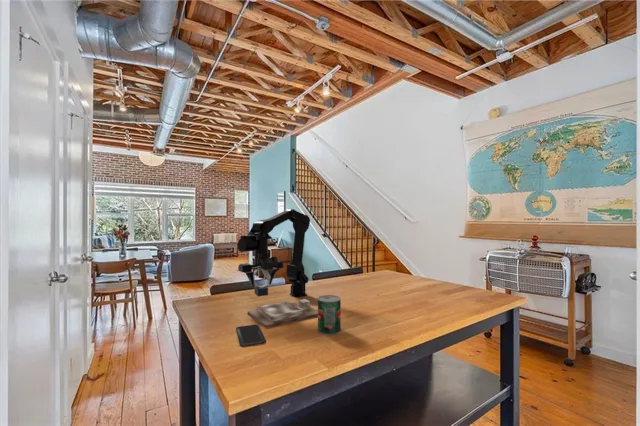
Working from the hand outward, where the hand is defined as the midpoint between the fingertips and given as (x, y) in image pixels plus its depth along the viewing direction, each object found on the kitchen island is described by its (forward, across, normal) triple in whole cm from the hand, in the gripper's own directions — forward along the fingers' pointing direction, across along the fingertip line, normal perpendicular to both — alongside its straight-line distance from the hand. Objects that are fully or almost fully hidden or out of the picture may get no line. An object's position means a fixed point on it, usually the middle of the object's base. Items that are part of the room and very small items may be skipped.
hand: (261, 285), depth 131 cm
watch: (+4, 0, 0) cm, 4 cm away
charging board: (+9, +3, -16) cm, 18 cm away
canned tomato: (+9, +8, -39) cm, 41 cm away
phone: (+9, -16, -28) cm, 33 cm away
